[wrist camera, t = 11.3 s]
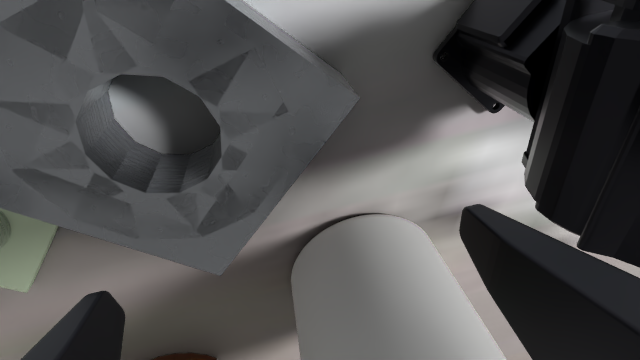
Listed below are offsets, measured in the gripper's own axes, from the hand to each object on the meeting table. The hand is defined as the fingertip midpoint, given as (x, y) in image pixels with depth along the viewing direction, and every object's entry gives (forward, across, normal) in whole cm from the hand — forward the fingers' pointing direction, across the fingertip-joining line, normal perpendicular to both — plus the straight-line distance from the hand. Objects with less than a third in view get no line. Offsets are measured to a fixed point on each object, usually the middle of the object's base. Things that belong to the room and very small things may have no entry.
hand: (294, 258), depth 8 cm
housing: (+13, +6, 0) cm, 14 cm away
